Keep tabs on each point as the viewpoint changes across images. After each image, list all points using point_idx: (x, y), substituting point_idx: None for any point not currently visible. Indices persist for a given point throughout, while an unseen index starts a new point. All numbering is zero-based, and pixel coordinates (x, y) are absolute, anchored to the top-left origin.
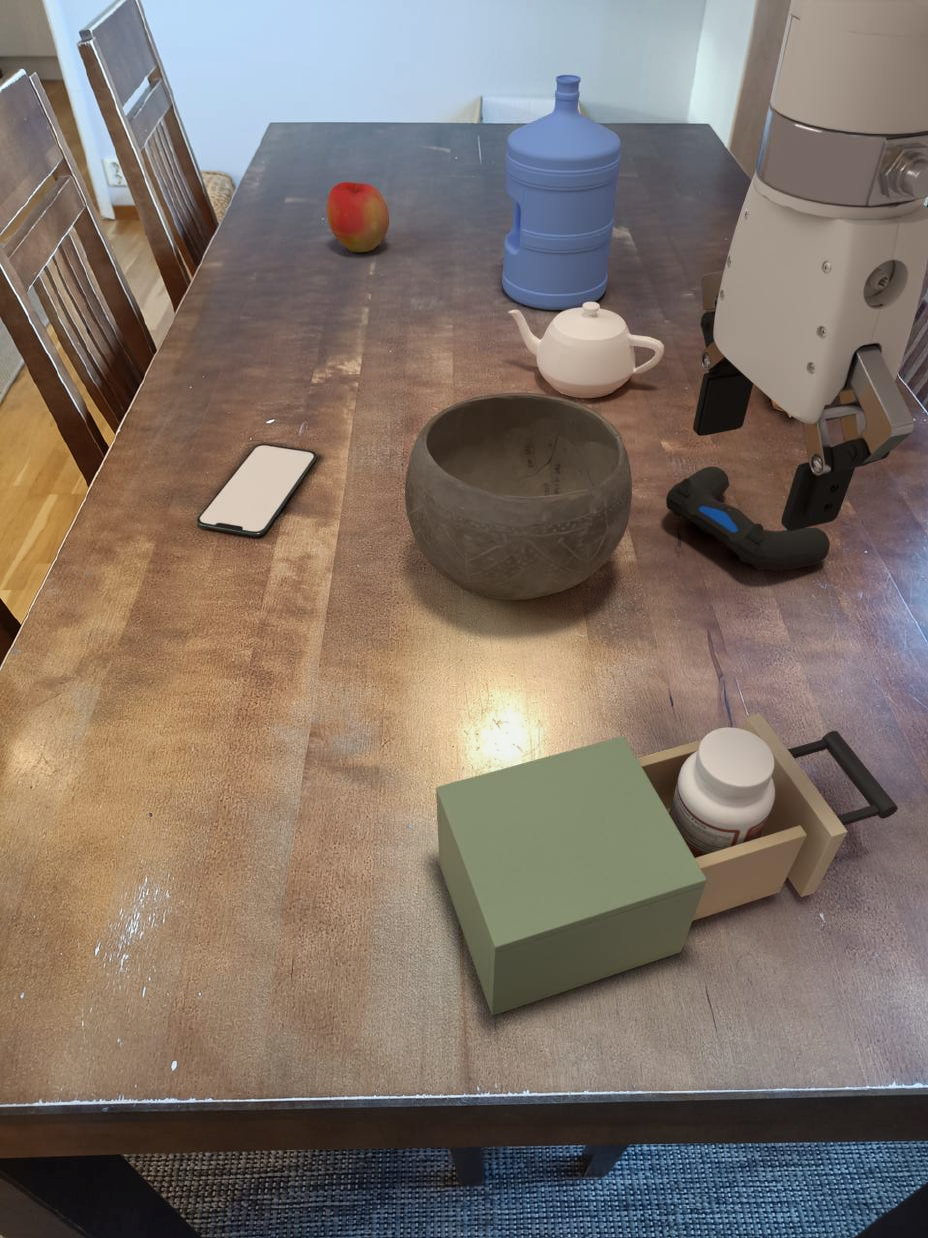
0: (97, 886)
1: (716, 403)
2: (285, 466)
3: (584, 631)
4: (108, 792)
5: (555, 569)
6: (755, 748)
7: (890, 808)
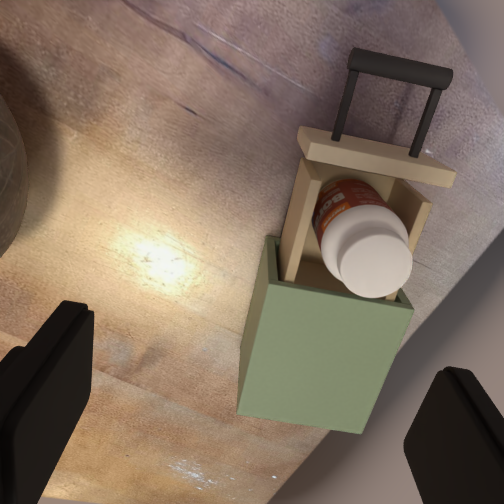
0: (162, 482)
1: (56, 444)
2: None
3: (69, 130)
4: (101, 467)
5: (18, 195)
6: (382, 248)
7: (450, 82)
